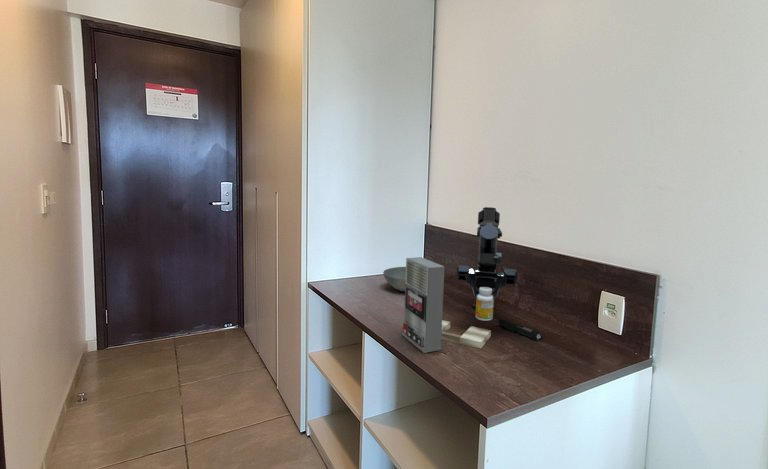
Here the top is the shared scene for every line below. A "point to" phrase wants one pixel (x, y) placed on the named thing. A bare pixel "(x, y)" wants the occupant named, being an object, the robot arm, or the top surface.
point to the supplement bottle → (484, 304)
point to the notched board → (466, 336)
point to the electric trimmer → (520, 329)
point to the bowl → (396, 277)
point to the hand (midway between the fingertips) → (485, 298)
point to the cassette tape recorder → (423, 304)
